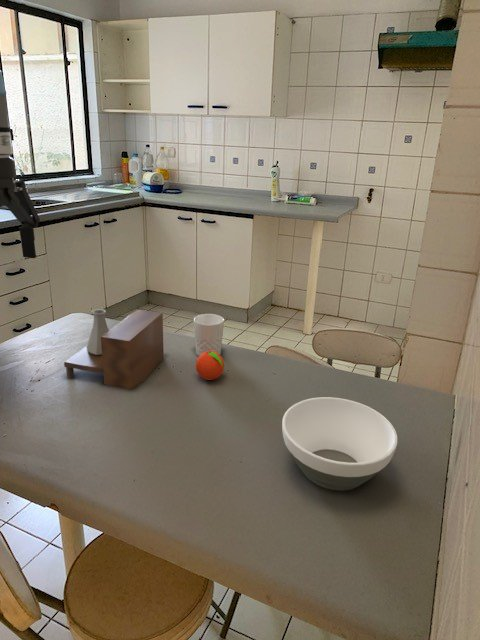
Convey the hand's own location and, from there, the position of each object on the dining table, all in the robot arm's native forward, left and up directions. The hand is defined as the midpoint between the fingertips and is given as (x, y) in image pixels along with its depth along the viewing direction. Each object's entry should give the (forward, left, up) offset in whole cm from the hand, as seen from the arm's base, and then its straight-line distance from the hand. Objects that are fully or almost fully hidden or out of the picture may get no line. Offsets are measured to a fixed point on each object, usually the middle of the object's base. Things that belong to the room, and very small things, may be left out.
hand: (8, 265), depth 95 cm
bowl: (+70, -8, -29) cm, 76 cm away
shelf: (+16, +14, -29) cm, 36 cm away
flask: (+12, +14, -24) cm, 30 cm away
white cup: (+34, +30, -29) cm, 54 cm away
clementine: (+39, +17, -29) cm, 51 cm away
